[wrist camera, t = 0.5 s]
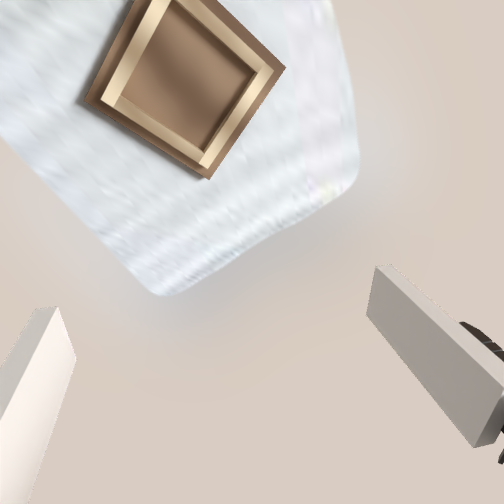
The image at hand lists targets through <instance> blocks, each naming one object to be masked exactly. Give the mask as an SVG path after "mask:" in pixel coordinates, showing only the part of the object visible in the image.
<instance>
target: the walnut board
mask: <svg viewBox="0 0 504 504" xmlns="http://www.w3.org/2000/svg"><path fill="white" fill-rule="evenodd" d="M285 68H286V67H285V66H284V65H283V64H282V63H281V62H280V61H279V60H278V59H277V58H276V57H275V56H274V55H273V54H272V53H271V52H270V51H269V50H268V49H267V48H266V47H265V46H263V45H262V44H261V43H260V42H259V41H258V40H257V39H256V38H255V37H254V36H253V35H252V34H251V33H250V32H249V31H248V30H247V29H246V28H245V27H244V26H243V25H242V24H241V23H240V22H239V21H238V20H237V19H236V18H235V17H234V16H233V15H232V14H231V13H230V12H228V11H227V10H226V9H225V8H224V7H223V6H222V5H221V4H220V3H219V2H218V1H217V0H135V1H134V3H133V5H132V7H131V9H130V10H129V12H128V14H127V16H126V18H125V20H124V22H123V24H122V26H121V28H120V30H119V32H118V34H117V36H116V38H115V40H114V42H113V44H112V46H111V48H110V50H109V52H108V54H107V56H106V58H105V60H104V62H103V64H102V66H101V68H100V70H99V72H98V74H97V76H96V78H95V80H94V82H93V84H92V86H91V88H90V90H89V91H88V93H87V95H86V97H85V99H84V101H85V102H87V103H88V104H90V105H91V106H93V107H94V108H96V109H98V110H99V111H101V112H102V113H104V114H106V115H107V116H109V117H110V118H112V119H113V120H115V121H117V122H118V123H120V124H121V125H123V126H124V127H126V128H128V129H129V130H131V131H132V132H134V133H136V134H137V135H139V136H140V137H142V138H143V139H145V140H147V141H148V142H150V143H151V144H153V145H155V146H156V147H158V148H159V149H161V150H162V151H164V152H166V153H167V154H169V155H170V156H172V157H174V158H175V159H177V160H178V161H180V162H181V163H183V164H185V165H186V166H188V167H189V168H191V169H193V170H194V171H196V172H197V173H199V174H200V175H202V176H204V177H205V178H207V179H208V180H209V179H210V178H211V177H212V175H213V174H214V172H215V171H216V169H217V168H218V166H219V165H220V163H221V162H222V160H223V159H224V158H225V156H226V155H227V153H228V152H229V150H230V149H231V147H232V146H233V144H234V143H235V141H236V140H237V139H238V137H239V136H240V134H241V133H242V131H243V130H244V128H245V127H246V125H247V124H248V123H249V121H250V120H251V118H252V117H253V115H254V114H255V112H256V111H257V109H258V108H259V106H260V105H261V104H262V102H263V101H264V99H265V98H266V96H267V95H268V93H269V92H270V90H271V89H272V87H273V86H274V85H275V83H276V82H277V80H278V79H279V77H280V76H281V74H282V73H283V71H284V70H285Z"/></svg>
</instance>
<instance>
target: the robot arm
mask: <svg viewBox="0 0 504 504" xmlns="http://www.w3.org/2000/svg"><path fill="white" fill-rule="evenodd" d="M366 315H367V316H368V318H369V319H370V320H371V321H372V323H373V324H374V325H375V326H376V328H377V329H378V330H379V331H380V333H381V334H382V335H383V336H384V338H385V339H386V340H387V341H388V343H389V344H390V345H391V346H392V348H393V349H394V350H395V351H396V352H397V354H398V355H399V356H400V358H401V359H402V360H403V361H404V363H405V364H406V365H407V366H408V368H409V369H410V370H411V371H412V373H413V374H414V375H415V376H416V377H417V379H418V380H419V381H420V382H421V384H422V385H423V386H424V388H426V390H427V391H428V392H429V393H430V395H431V396H432V397H433V399H434V400H435V401H436V402H437V404H438V405H439V406H440V407H441V409H442V410H443V411H444V412H445V414H446V415H447V416H448V417H449V419H450V420H451V421H452V422H453V424H454V425H455V426H456V427H457V429H458V430H459V431H460V432H461V433H462V435H463V436H464V437H465V439H466V440H467V441H468V442H469V444H470V445H471V446H472V447H473V448H476V447H480V446H485V445H489V444H493V443H494V442H495V441H496V439H497V437H498V435H499V434H500V432H501V431H502V432H503V433H504V351H502V349H501V348H500V347H499V346H498V345H497V344H496V343H493V342H492V340H491V339H490V338H489V337H487V336H486V335H485V334H484V333H483V332H481V331H480V330H479V329H477V328H475V327H473V326H471V325H469V324H467V323H465V322H459V323H458V322H457V321H456V320H455V319H454V318H452V317H451V316H450V315H449V314H448V313H447V312H446V311H444V310H443V309H442V308H441V307H440V306H438V304H436V303H435V302H434V301H433V300H432V299H430V298H429V297H428V296H427V295H426V294H425V293H424V292H422V291H421V290H420V289H419V288H418V287H417V286H416V285H415V284H413V283H412V282H411V281H410V280H409V279H408V278H406V277H405V276H404V275H403V274H402V273H401V272H400V271H398V270H397V269H396V268H395V267H394V266H393V265H392V264H389V265H381V266H376V267H375V272H374V278H373V282H372V288H371V293H370V298H369V303H368V309H367V313H366ZM76 360H77V358H76V355H75V353H74V350H73V348H72V345H71V342H70V339H69V337H68V334H67V331H66V328H65V325H64V323H63V320H62V317H61V314H60V312H59V309H58V306H55V307H48V308H40V309H35V310H34V312H33V314H32V315H31V317H30V319H29V320H28V322H27V324H26V326H25V327H24V329H23V331H22V332H21V334H20V336H19V338H18V339H17V341H16V343H15V344H14V346H13V348H12V350H11V351H10V353H9V354H8V356H7V358H6V360H5V361H4V363H3V365H2V366H1V368H0V504H28V502H29V499H30V496H31V493H32V490H33V487H34V484H35V481H36V479H37V476H38V472H39V470H40V467H41V464H42V461H43V458H44V455H45V452H46V449H47V446H48V443H49V440H50V437H51V434H52V431H53V428H54V425H55V422H56V419H57V417H58V414H59V410H60V407H61V405H62V402H63V399H64V396H65V393H66V390H67V387H68V384H69V381H70V378H71V375H72V372H73V369H74V366H75V363H76ZM498 463H500V464H503V463H504V449H503V451H502V453H501V454H500V456H499V460H498Z"/></svg>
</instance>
